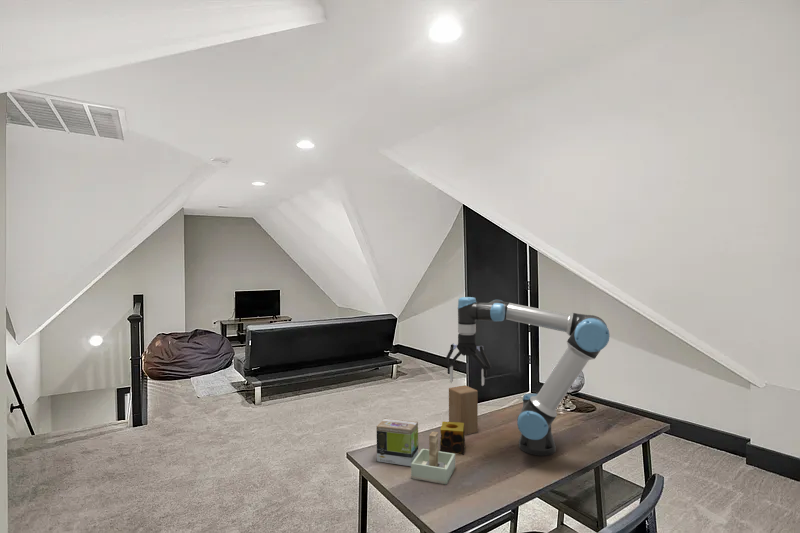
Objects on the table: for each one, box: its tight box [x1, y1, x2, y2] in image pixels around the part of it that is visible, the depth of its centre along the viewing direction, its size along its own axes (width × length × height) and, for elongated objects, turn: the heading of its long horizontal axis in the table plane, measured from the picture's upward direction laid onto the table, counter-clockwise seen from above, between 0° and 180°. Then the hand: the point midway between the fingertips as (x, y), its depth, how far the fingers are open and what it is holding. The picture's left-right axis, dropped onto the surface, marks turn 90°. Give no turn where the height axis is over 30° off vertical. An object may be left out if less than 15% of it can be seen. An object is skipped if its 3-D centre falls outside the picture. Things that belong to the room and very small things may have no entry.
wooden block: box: [448, 385, 479, 436], centre depth 205 cm, size 10×10×20 cm
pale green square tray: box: [410, 448, 456, 485], centre depth 165 cm, size 14×14×6 cm
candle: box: [439, 421, 466, 455], centre depth 186 cm, size 10×10×10 cm
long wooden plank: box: [428, 431, 439, 467], centre depth 165 cm, size 2×4×14 cm, turn 160°
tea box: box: [376, 418, 419, 467], centre depth 176 cm, size 15×10×15 cm, turn 71°
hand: (467, 383), depth 184 cm, fingers open, 13 cm apart
